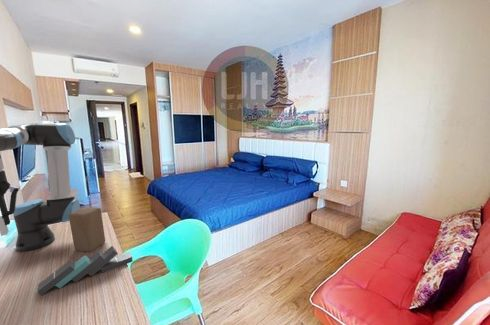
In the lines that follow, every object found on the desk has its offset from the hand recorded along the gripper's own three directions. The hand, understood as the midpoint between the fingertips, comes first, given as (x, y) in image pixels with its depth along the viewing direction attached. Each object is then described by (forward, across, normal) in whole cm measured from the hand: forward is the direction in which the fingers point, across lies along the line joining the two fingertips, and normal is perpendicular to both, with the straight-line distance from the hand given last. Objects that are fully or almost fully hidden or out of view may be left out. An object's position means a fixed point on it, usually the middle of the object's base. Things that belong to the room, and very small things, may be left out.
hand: (4, 233), depth 80 cm
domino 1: (+23, +7, -7) cm, 25 cm away
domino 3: (+23, +17, -7) cm, 29 cm away
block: (+25, +24, +19) cm, 40 cm away
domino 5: (+23, +26, -7) cm, 36 cm away
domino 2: (+23, +12, -7) cm, 27 cm away
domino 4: (+23, +22, -7) cm, 33 cm away
